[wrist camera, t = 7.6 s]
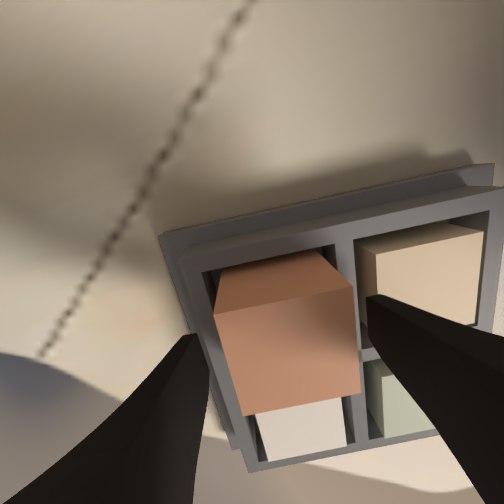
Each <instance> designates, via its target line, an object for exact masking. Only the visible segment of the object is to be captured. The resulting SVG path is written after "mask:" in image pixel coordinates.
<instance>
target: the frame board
mask: <svg viewBox="0 0 504 504" xmlns="http://www.w3.org/2000/svg"><path fill="white" fill-rule="evenodd" d="M494 165H495V163H487V164H474V165H469V166H464V167H460V168H455V169H451V170H446V171H442V172H437V173H433V174H428V175H423V176H419V177H414V178H410V179H405V180H401V181H396V182H392V183H387V184H383V185H378V186H373V187H369V188H364V189H360V190H355V191H351V192H346V193H342V194H337V195H332V196H328V197H323V198H319V199H314V200H310V201H305V202H301V203H296V204H292V205H287V206H282V207H278V208H273V209H269V210H264V211H260V212H255V213H251V214H246V215H242V216H237V217H232V218H228V219H223V220H219V221H214V222H210V223H205V224H201V225H196V226H191V227H187V228H182V229H178V230H173V231H169V232H164V233H163V234H161V235H160V236H158V239H159V242H160V245H161V248H162V251H163V254H164V256H165V259H166V262H167V265H168V268H169V271H170V274H171V277H172V279H173V282H174V285H175V288H176V291H177V294H178V297H179V300H180V302H181V305H182V308H183V311H184V314H185V317H186V320H187V322H188V325H189V328H190V331H191V334H193V333H197V335H198V337H199V340H200V343H201V346H202V349H203V352H204V355H205V358H206V361H207V364H208V367H209V370H210V375H209V386H210V388H211V391H212V394H213V397H214V400H215V403H216V406H217V409H218V411H219V414H220V417H221V420H222V423H223V426H224V429H225V432H226V434H227V437H228V440H229V443H230V446H231V448H232V450H236V449H241V452H242V455H243V458H244V461H245V464H246V467H247V470H248V473H252V472H257V471H262V470H267V469H272V468H277V467H282V466H287V465H291V464H297V463H302V462H307V461H312V460H317V459H322V458H327V457H332V456H337V455H342V454H347V453H352V452H357V451H362V450H367V449H372V448H377V447H382V446H387V445H392V444H397V443H402V442H407V441H412V440H417V439H422V438H427V437H432V436H437V435H440V434H439V433H438V431H437V430H436V428H435V427H434V425H433V424H432V423H431V421H430V420H429V419H428V417H427V416H426V415H425V413H424V412H423V411H422V410H421V408H420V407H419V406H418V405H417V403H416V402H415V401H414V400H413V398H412V397H411V396H410V395H409V393H408V392H407V391H406V390H405V388H404V387H403V386H402V385H401V383H400V382H399V381H398V380H397V378H396V377H395V376H394V375H393V373H392V372H391V371H390V369H389V368H388V367H387V366H386V364H385V363H384V362H383V360H382V359H381V357H380V356H379V354H378V353H377V351H376V350H375V348H374V346H373V345H372V343H371V341H370V340H369V338H368V327H367V312H366V297H368V296H372V295H377V294H382V295H385V296H388V297H391V298H394V299H396V300H399V301H401V302H404V303H407V304H409V305H412V306H414V307H417V308H419V309H422V310H425V311H427V312H430V313H432V314H435V315H438V316H441V317H443V318H446V319H449V320H452V321H455V322H458V323H461V324H464V325H467V326H469V327H472V328H475V329H479V330H482V331H485V332H488V333H492V328H493V321H494V313H495V305H496V298H497V290H498V282H499V275H500V267H501V259H502V252H503V244H504V187H496V186H492V184H493V174H494ZM312 248H314V249H315V250H316V251H317V252H318V253H319V254H320V255H321V256H322V257H323V258H324V259H325V260H327V261H328V262H329V263H330V264H331V265H332V266H333V267H334V268H335V269H336V270H337V271H338V272H339V273H340V274H341V275H342V276H343V277H344V278H345V279H346V280H347V281H348V282H349V283H350V284H351V285H352V286H353V291H354V305H355V318H356V331H357V345H358V358H359V371H360V385H361V393H359V394H354V395H349V396H344V397H339V398H334V399H329V400H324V401H319V402H313V403H308V404H303V405H298V406H293V407H288V408H283V409H278V410H273V411H268V412H263V413H258V414H253V415H248V416H243V415H242V411H241V408H240V404H239V401H238V398H237V394H236V391H235V387H234V384H233V381H232V377H231V374H230V371H229V367H228V364H227V360H226V357H225V354H224V350H223V347H222V343H221V340H220V337H219V333H218V330H217V326H216V323H215V320H214V316H213V313H214V308H215V303H216V297H217V292H218V287H219V282H220V277H221V272H222V268H224V267H228V266H233V265H238V264H242V263H247V262H251V261H256V260H261V259H265V258H270V257H275V256H279V255H284V254H288V253H293V252H298V251H302V250H307V249H312Z"/></svg>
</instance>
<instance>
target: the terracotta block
mask: <svg viewBox="0 0 504 504" xmlns="http://www.w3.org/2000/svg"><path fill="white" fill-rule="evenodd" d="M213 316H214V320H215V323H216V326H217V330H218V333H219V337H220V340H221V343H222V347H223V350H224V354H225V357H226V360H227V364H228V367H229V371H230V374H231V377H232V381H233V384H234V387H235V391H236V394H237V398H238V401H239V404H240V408H241V411H242V415H243V416H248V415H253V414H258V413H263V412H268V411H273V410H278V409H283V408H288V407H293V406H298V405H303V404H308V403H313V402H319V401H324V400H329V399H334V398H339V397H344V396H349V395H354V394H359V393H361V385H360V371H359V358H358V345H357V331H356V318H355V305H354V291H353V286H352V285H351V284H350V283H349V282H348V281H347V280H346V279H345V278H344V277H343V276H342V275H341V274H340V273H339V272H338V271H337V270H336V269H335V268H334V267H333V266H332V265H331V264H330V263H329V262H328V261H327V260H325V259H324V258H323V257H322V256H321V255H320V254H319V253H318V252H317V251H316V250H315V249H314V248H312V249H307V250H302V251H298V252H293V253H288V254H284V255H279V256H275V257H270V258H265V259H261V260H256V261H251V262H247V263H242V264H238V265H233V266H228V267H224V268H222V272H221V277H220V282H219V287H218V292H217V297H216V303H215V308H214V313H213Z"/></svg>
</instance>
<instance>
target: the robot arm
mask: <svg viewBox="0 0 504 504" xmlns="http://www.w3.org/2000/svg"><path fill="white" fill-rule="evenodd" d="M366 312H367V327H368V338H369V340H370V341H371V343H372V345H373V346H374V348H375V350H376V351H377V353H378V354H379V356H380V357H381V359H382V360H383V362H384V363H385V364H386V366H387V367H388V368H389V369H390V371H391V372H392V373H393V375H394V376H395V377H396V378H397V380H398V381H399V382H400V383H401V385H402V386H403V387H404V388H405V390H406V391H407V392H408V393H409V395H410V396H411V397H412V398H413V400H414V401H415V402H416V403H417V405H418V406H419V407H420V408H421V410H422V411H423V412H424V413H425V415H426V416H427V417H428V419H429V420H430V421H431V423H432V424H433V425H434V427H435V428H436V430H437V431H438V433H439V434H440V435H441V437H442V438H443V440H444V441H445V443H446V444H447V446H448V447H449V449H450V450H451V452H452V453H453V455H454V456H455V458H456V459H457V461H458V462H459V464H460V465H461V467H462V468H463V470H464V471H465V473H466V475H467V476H468V478H469V479H470V481H471V482H472V484H473V485H474V487H475V488H476V490H477V491H478V493H479V495H480V496H481V498H482V499H483V501H484V502H485V504H504V337H502V336H499V335H495V334H492V333H488V332H485V331H482V330H479V329H475V328H472V327H469V326H467V325H464V324H461V323H458V322H455V321H452V320H449V319H446V318H443V317H441V316H438V315H435V314H432V313H430V312H427V311H425V310H422V309H419V308H417V307H414V306H412V305H409V304H407V303H404V302H401V301H399V300H396V299H394V298H391V297H388V296H385V295H382V294H377V295H372V296H368V297H366ZM209 375H210V370H209V367H208V364H207V361H206V358H205V355H204V352H203V349H202V346H201V343H200V340H199V337H198V335H197V333H193V334H188V335H183V336H182V337H181V338H180V339H179V340H178V341H177V343H176V344H175V345H174V346H173V347H172V349H171V350H170V351H169V352H168V353H167V355H166V356H165V357H164V358H163V359H162V360H161V362H160V363H159V364H158V365H157V366H156V367H155V369H154V370H153V371H152V372H151V373H150V374H149V376H148V377H147V378H146V379H145V380H144V381H143V382H142V383H141V384H140V385H139V386H138V387H137V389H136V390H135V391H134V392H133V393H132V394H131V395H130V396H129V397H128V398H127V399H126V400H125V401H124V402H123V403H122V404H121V405H120V406H119V407H118V408H117V409H116V410H115V411H114V412H113V413H112V414H111V415H110V416H109V417H108V418H107V419H106V420H105V421H104V422H103V423H102V424H100V425H99V426H98V427H97V428H96V429H95V430H94V431H93V432H92V433H90V434H89V435H88V436H87V437H86V438H85V439H84V440H82V441H81V442H80V443H79V444H78V445H77V446H75V447H74V448H73V449H72V450H71V451H69V452H68V453H67V454H66V455H65V456H64V457H62V458H61V459H60V460H59V461H58V462H56V463H55V464H54V465H53V466H51V467H50V468H49V469H48V470H46V471H45V472H44V473H43V474H41V475H40V476H39V477H37V478H36V479H35V480H34V481H32V482H31V483H30V484H28V485H27V486H26V487H24V488H23V489H22V490H20V491H19V492H18V493H17V494H15V495H14V496H13V497H11V498H10V499H9V500H7V501H6V502H4V503H3V504H193V493H194V482H195V473H196V466H197V459H198V453H199V448H200V442H201V436H202V430H203V425H204V419H205V413H206V407H207V401H208V394H209Z"/></svg>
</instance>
